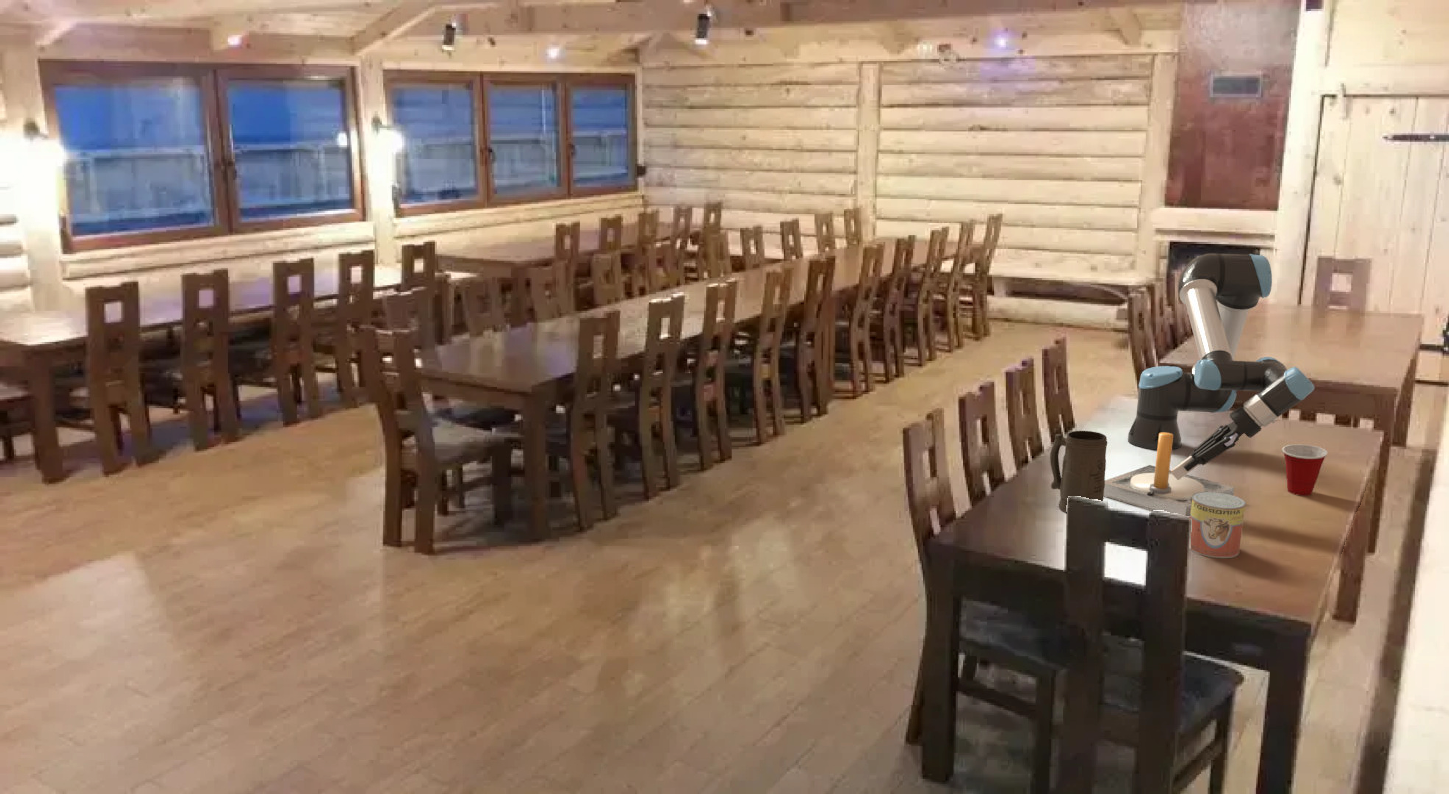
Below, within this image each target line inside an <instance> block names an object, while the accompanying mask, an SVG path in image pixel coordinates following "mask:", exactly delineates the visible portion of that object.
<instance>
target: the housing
mask: <svg viewBox="0 0 1449 794" xmlns="http://www.w3.org/2000/svg"><path fill="white" fill-rule="evenodd" d="M1155 466H1156V465H1150V464H1148V465H1146V466H1142V467H1139V468H1137V469H1135V470H1131V471H1129V472H1126V473H1123V474H1120V475H1118V476H1117V475H1116V476H1115V477H1111V478H1109V479H1105V488H1104V496H1103V497H1106V498H1110V499H1113V500H1116V499H1117V500H1116V501H1119V500H1120V501H1119V502H1123V503H1126V504H1129V505H1133V506H1137V507H1140V508H1142V509H1147V510H1149V511H1153V510H1164V511H1167V512H1170V513H1178V514H1181V515H1184V516H1190V515H1191V506H1192V497H1191V499H1190V500H1172V499H1168V498H1165V497H1161V496H1158V495H1154V492H1152V491H1150V492H1148V493H1147V492H1144V491H1140V490H1136V489H1133V488H1131V486H1130V482H1131V478H1132V477H1133V476H1135V475H1138V474H1143V473H1155ZM1171 470H1172V469H1170V470H1169V474H1172V473H1171V472H1170V471H1171ZM1184 477H1187V478H1191V479H1193V480H1196V481H1198V482H1200V483H1201V484H1202V485H1203V486H1204V492H1219V493H1225V494H1230V495H1233V496H1234V494H1235V493H1234V491H1235V486H1231V485H1228V484H1224V483H1220V482H1215V481H1213V480H1208V479H1205V478H1200V477H1198V476H1193V475H1189V474H1186V475H1185V476H1184Z"/></svg>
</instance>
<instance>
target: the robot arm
mask: <svg viewBox="0 0 1449 794" xmlns="http://www.w3.org/2000/svg"><path fill="white" fill-rule="evenodd" d="M1272 277H1273V275H1272V268H1271V263H1270V261H1269V260H1268V258H1267V257H1266V256H1265V255H1262V254H1261V255H1260V254H1253V253H1249V254H1239V253H1237V254H1235V253H1233V254H1232V253H1204V254H1202V255H1199V256H1197V257H1195V258H1194V259H1192V260H1190V262H1189V263H1188V264H1187V265H1186V266H1185V267H1184V268H1183V270H1182V272H1181V274H1180V276H1179V279H1178V284H1177V292H1178V296H1179V299H1180V301H1181V302H1182V304H1184V305H1185V307H1186V310H1187V314H1188V318H1189V322H1190V325H1191V330H1192V334H1193V337H1194V341H1195V345H1196V348H1197V353H1198V357H1199V360H1197V361H1196V363H1195V364H1194V365H1193V366H1192V368H1191V372H1183V369H1182V368H1180V367H1179V366H1170V365H1162V366H1161V365H1159V366H1153V367H1149V368H1146V369H1144V370H1143V371H1142V372H1141V374H1140V379H1139V383H1138V396H1137V406H1136V414H1135V418H1134V421H1133V423H1132V425H1131V427H1130V429H1129V431H1128V435H1127V437H1128V438H1127V442H1128V443H1129V444H1131V445H1133V446H1137V447H1139V448H1144V449H1150V450H1157V448H1158V438H1159V433H1161V432H1166V433H1171V434H1173V443H1172V450H1175V449H1178V448H1180V447H1181V446H1182V445H1181V444H1182V437H1181V433H1180V428H1179V424H1178V414H1179V412H1196V413H1197V412H1198V413H1199V412H1200V413H1225V412H1227V411H1229V410H1230V409H1231V408H1232V407H1233V405H1234V403H1235V401H1236V398H1237V391H1243V392H1257V393H1256V394H1254V395H1253V396H1252V397H1250V398H1249V399H1247V400H1246V401H1245V402H1244V403H1243V407H1242V406H1240V407H1237V408H1236V409H1235V410H1233V411H1232V412H1231V413H1229V418H1230V419H1231V420H1232V421H1231V422H1230V423H1228V424H1225V425H1223V424H1222V425H1219V427H1218V428H1217V429H1216V430H1215V431H1214V432H1213V433H1212V434H1210V435H1209V436H1208V437H1207V438H1205V440H1204V441H1202V442H1201V443H1200V444H1198V446H1197V447H1195V448H1194V449H1193V450H1192V453H1191V454H1190V455H1189V456H1188V457H1187V458H1186V459H1184V460H1183V461H1182V462H1180V463H1179V464H1178V465H1176V466H1175V467H1173V468H1172V469H1170V470H1171V471H1170V472H1171V473H1172V475H1173V476H1174V477H1175V478H1176V479H1177V480H1179V479H1181V478H1182V477H1183V476H1185V475H1188V474H1189V473H1190V472H1192V471H1193V470H1195V468H1197V467H1198V466H1200V465H1202V466H1204V465H1206V464H1207V463H1209V462H1211V461H1212V460H1213V459H1215V458H1217V457H1218V456H1220V455H1222V453H1225V452H1226V451H1227V450H1229V449H1232V448H1233V447H1235V446H1236V442H1238V441H1239V439H1240V437H1242V436H1243V434H1245V436H1247V437H1248V438H1253V437H1254V436H1255V435H1257V434H1258V433H1259V432H1261V431H1262V427H1263V428H1265V427H1267V426H1268V425H1269V424H1271V423H1272V424H1274V423H1276V419H1278V418H1279V417H1281V416H1282V415H1283V414H1285V413H1286V412H1288V411H1289V410H1291V408H1293V407H1294V406H1296V405H1298V404H1299V403H1300V402H1301V401H1304V400H1305V399H1306V397H1307V396H1309V395H1310V394H1311V393H1312V392H1313V391H1314V390H1315V384H1313V382H1312V381H1311V380H1310V379H1309V378H1308V377H1307V376H1306V375H1305V374H1304V372H1302V370H1300V368H1299V367H1297V366H1293V367H1290V368H1289V369H1287V367H1286V366H1285V365H1284V363H1282V362H1281V361H1279V360H1278V359H1277V358H1274V357H1271V356H1263V357H1261V358H1258V359H1257V360H1256V361H1252V360H1250V361H1249V360H1248V361H1246V360H1234V359H1235V357H1236V354H1237V350H1238V347H1239V344H1240V341H1241V338H1242V335H1243V331H1244V328H1245V325H1246V323H1247V319H1248V316H1249V312H1250V310H1251V309H1255V308H1256V307H1257V305H1258V303H1259V301H1260V298H1262V299H1264V298H1267V297H1268V296H1269V295H1271V291H1272V286H1273V278H1272Z"/></svg>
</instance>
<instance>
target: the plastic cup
mask: <svg viewBox="0 0 1449 794" xmlns="http://www.w3.org/2000/svg"><path fill="white" fill-rule="evenodd" d="M1281 451H1282V452H1283V456H1284V461H1285V473H1286V474H1285V475H1286V489H1287V492H1288V493H1291V494H1293V495H1296V494H1297V496H1311V495H1312V493H1313V491H1314V488H1315V485H1316V483H1317V480H1318V477H1319V473H1320V472H1321V468H1322V465H1323V463H1324V461H1325V459H1326V457H1327V455H1328V453H1329V452H1328V451H1327V449H1325V448H1323V447H1320V446H1316V445H1312V444H1306V443H1305V444H1304V443H1303V444H1302V443H1300V444H1299V443H1297V444H1296V443H1294V444H1286V445H1285V446H1283V447H1282V448H1281Z"/></svg>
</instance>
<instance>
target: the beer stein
mask: <svg viewBox="0 0 1449 794" xmlns="http://www.w3.org/2000/svg"><path fill="white" fill-rule="evenodd" d="M1107 438H1108V437H1107V436H1106V434H1103V433H1101V432H1097V431H1090V430H1073V431H1070V432H1067V435H1066V437H1064V435H1062V434H1060V433H1056V434H1055V435H1054V441H1053V443H1052V447H1051V449H1050V453H1049V456H1050V457H1049V459H1050V460H1049V463H1050V468H1051V473H1052V475H1053V476H1052V477H1053V479H1052V480H1053V481H1052V482H1051V485H1050V487H1051V489H1052V490H1059V492H1060V493H1059V497H1060V500H1059V502H1058V508H1059V509H1060V510H1061V511H1062V512H1064V513H1066V505H1067V498H1068V496H1081V497H1086V498H1089V499H1098V500H1101V501H1102V502H1103V501H1104V497H1105V496H1104V488H1105V480H1106V479H1105V478H1106V477H1105V476H1106V465H1107V460H1106V456H1107V446H1108V441H1107V440H1108V439H1107ZM1063 446H1064V448H1065V450H1064V451H1065V452H1064V456H1063V460H1062V469H1061V468H1060V461H1059V453H1060V449H1061V447H1063ZM1060 469H1061V470H1060Z"/></svg>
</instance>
